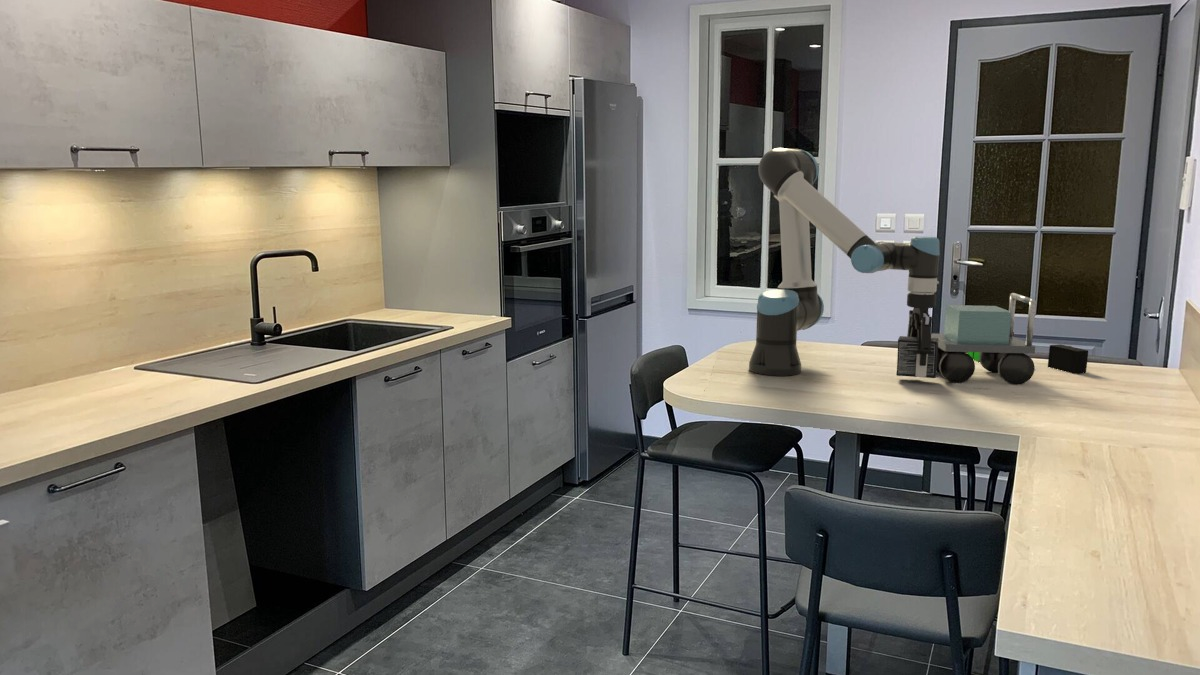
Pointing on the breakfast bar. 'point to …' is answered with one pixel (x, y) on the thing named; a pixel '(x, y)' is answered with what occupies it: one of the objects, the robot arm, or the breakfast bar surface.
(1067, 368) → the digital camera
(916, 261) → the robot arm
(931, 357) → the small box
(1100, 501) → the breakfast bar surface
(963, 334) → the trolley
